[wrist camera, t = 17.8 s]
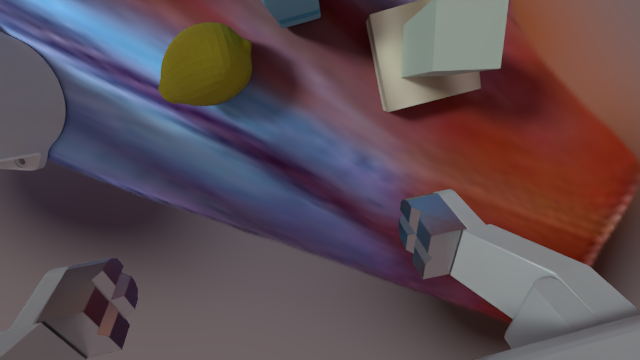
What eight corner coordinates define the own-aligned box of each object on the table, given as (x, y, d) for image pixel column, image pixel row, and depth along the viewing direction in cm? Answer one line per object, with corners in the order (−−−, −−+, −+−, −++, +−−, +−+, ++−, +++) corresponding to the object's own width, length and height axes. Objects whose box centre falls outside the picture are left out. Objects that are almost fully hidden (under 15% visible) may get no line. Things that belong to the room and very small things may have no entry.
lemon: (248, 18, 34) (225, -4, 27) (274, 85, 36) (258, 84, 29) (165, 52, 36) (119, 41, 28) (194, 116, 38) (158, 122, 30)
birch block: (382, 109, 37) (388, 112, 33) (365, 23, 34) (369, 14, 31) (465, 88, 36) (481, 88, 32) (454, -3, 33) (470, -15, 30)
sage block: (401, 77, 32) (432, 71, 23) (402, 25, 31) (437, -5, 21) (448, 75, 32) (500, 68, 22) (452, 23, 31) (509, -8, 21)
